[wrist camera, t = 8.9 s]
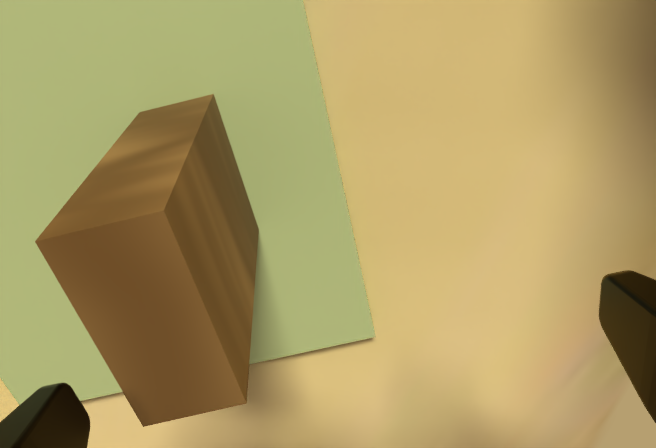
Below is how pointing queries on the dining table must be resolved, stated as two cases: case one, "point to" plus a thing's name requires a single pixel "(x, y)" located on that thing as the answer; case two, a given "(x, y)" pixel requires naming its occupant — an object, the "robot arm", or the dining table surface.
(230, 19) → the felt mat
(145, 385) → the walnut slab
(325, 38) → the dining table surface
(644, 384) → the robot arm
